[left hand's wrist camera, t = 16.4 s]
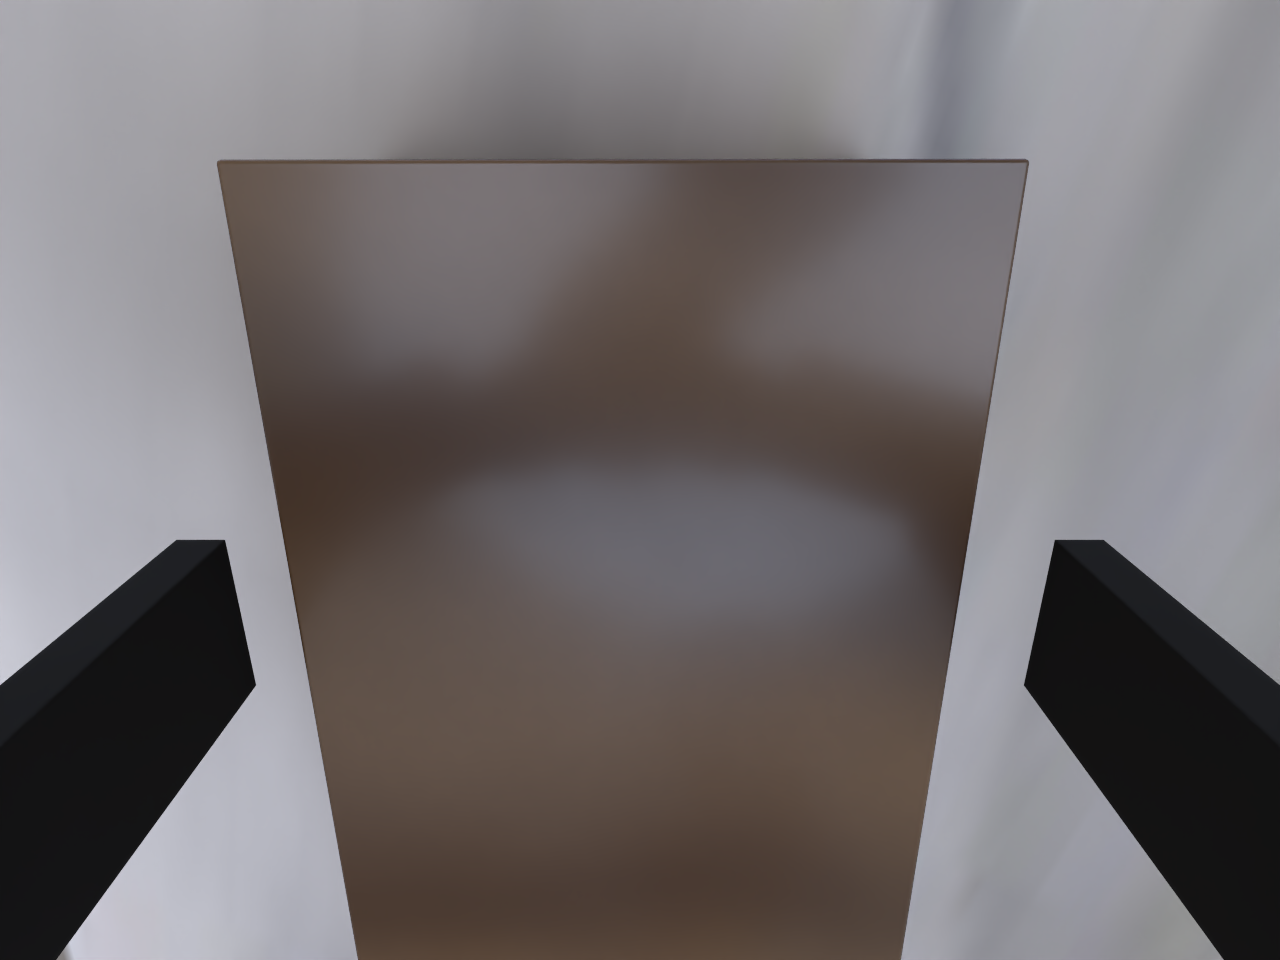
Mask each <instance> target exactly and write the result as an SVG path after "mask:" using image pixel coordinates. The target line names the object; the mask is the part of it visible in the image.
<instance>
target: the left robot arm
mask: <svg viewBox="0 0 1280 960" xmlns="http://www.w3.org/2000/svg"><path fill="white" fill-rule="evenodd" d="M255 686H256V683H255V678H254V674H253V669H252V664H251V660H250V655H249V650H248V645H247V641H246V636H245V631H244V627H243V622H242V617H241V613H240V608H239V603H238V599H237V594H236V589H235V585H234V580H233V575H232V571H231V566H230V561H229V557H228V552H227V547H226V542H225V540H176V541H175V542H173V543H172V544H171V545H170V546H169V547H167V548H166V549H165V550H164V551H163V552H161V553H160V554H159V555H158V556H157V557H155V558H154V559H153V560H152V561H150V562H149V563H148V564H147V565H146V566H144V567H143V568H142V569H141V570H140V571H138V572H137V573H136V574H135V575H133V576H132V577H131V578H130V579H129V580H127V581H126V582H125V583H124V584H123V585H121V586H120V587H119V588H118V589H116V590H115V591H114V592H113V593H112V594H110V595H109V596H108V597H107V598H106V599H104V600H103V601H102V602H101V603H99V604H98V605H97V606H96V607H95V608H93V609H92V610H91V611H90V612H89V613H87V614H86V615H85V616H84V617H82V618H81V619H80V620H79V621H78V622H76V623H75V624H74V625H73V626H72V627H70V628H69V629H68V630H67V631H66V632H64V633H63V634H62V635H61V636H59V637H58V638H57V639H56V640H55V641H53V642H52V643H51V644H50V645H49V646H47V647H46V648H45V649H44V650H42V651H41V652H40V653H39V654H38V655H36V656H35V657H34V658H33V659H32V660H30V661H29V662H28V663H27V664H25V665H24V666H23V667H22V668H21V669H19V670H18V671H17V672H16V673H15V674H13V675H12V676H11V677H10V678H8V679H7V680H6V681H5V682H4V683H2V684H1V685H0V960H56V959H57V958H58V956H59V955H60V954H61V952H62V951H63V950H64V948H65V947H66V945H67V944H68V943H69V941H70V940H71V939H72V937H73V936H74V934H75V933H76V932H77V930H78V929H79V928H80V926H81V925H82V923H83V922H84V921H85V919H86V918H87V917H88V915H89V914H90V913H91V911H92V910H93V908H94V907H95V906H96V904H97V903H98V902H99V900H100V899H101V897H102V896H103V895H104V893H105V892H106V891H107V889H108V888H109V886H110V885H111V884H112V882H113V881H114V880H115V878H116V877H117V875H118V874H119V873H120V871H121V870H122V869H123V867H124V866H125V864H126V863H127V862H128V860H129V859H130V858H131V856H132V855H133V853H134V852H135V851H136V849H137V848H138V847H139V845H140V844H141V842H142V841H143V840H144V838H145V837H146V836H147V834H148V833H149V831H150V830H151V829H152V827H153V826H154V825H155V823H156V822H157V821H158V819H159V818H160V816H161V815H162V814H163V812H164V811H165V810H166V808H167V807H168V805H169V804H170V803H171V801H172V800H173V799H174V797H175V796H176V794H177V793H178V792H179V790H180V789H181V788H182V786H183V785H184V783H185V782H186V781H187V779H188V778H189V777H190V775H191V774H192V772H193V771H194V770H195V768H196V767H197V766H198V764H199V763H200V761H201V760H202V759H203V757H204V756H205V755H206V753H207V752H208V750H209V749H210V748H211V746H212V745H213V744H214V742H215V741H216V739H217V738H218V737H219V735H220V734H221V733H222V731H223V730H224V729H225V727H226V726H227V724H228V723H229V722H230V720H231V719H232V718H233V716H234V715H235V713H236V712H237V711H238V709H239V708H240V707H241V705H242V704H243V702H244V701H245V700H246V698H247V697H248V696H249V694H250V693H251V691H252V690H253V689H254V687H255ZM1024 686H1025V687H1026V689H1027V690H1028V691H1029V693H1030V694H1031V696H1032V697H1033V698H1034V700H1035V701H1036V702H1037V704H1038V705H1039V707H1040V708H1041V709H1042V711H1043V712H1044V713H1045V715H1046V716H1047V718H1048V719H1049V720H1050V722H1051V723H1052V724H1053V726H1054V727H1055V729H1056V730H1057V731H1058V733H1059V734H1060V735H1061V737H1062V738H1063V739H1064V741H1065V742H1066V744H1067V745H1068V746H1069V748H1070V749H1071V750H1072V752H1073V753H1074V755H1075V756H1076V757H1077V759H1078V760H1079V761H1080V763H1081V764H1082V766H1083V767H1084V768H1085V770H1086V771H1087V772H1088V774H1089V775H1090V777H1091V778H1092V779H1093V781H1094V782H1095V783H1096V785H1097V786H1098V788H1099V789H1100V790H1101V792H1102V793H1103V794H1104V796H1105V797H1106V799H1107V800H1108V801H1109V803H1110V804H1111V805H1112V807H1113V808H1114V810H1115V811H1116V812H1117V814H1118V815H1119V816H1120V818H1121V819H1122V821H1123V822H1124V823H1125V825H1126V826H1127V827H1128V829H1129V830H1130V831H1131V833H1132V834H1133V836H1134V837H1135V838H1136V840H1137V841H1138V842H1139V844H1140V845H1141V847H1142V848H1143V849H1144V851H1145V852H1146V853H1147V855H1148V856H1149V858H1150V859H1151V860H1152V862H1153V863H1154V864H1155V866H1156V867H1157V869H1158V870H1159V871H1160V873H1161V874H1162V875H1163V877H1164V878H1165V880H1166V881H1167V882H1168V884H1169V885H1170V886H1171V888H1172V889H1173V891H1174V892H1175V893H1176V895H1177V896H1178V897H1179V899H1180V900H1181V902H1182V903H1183V904H1184V906H1185V907H1186V908H1187V910H1188V911H1189V913H1190V914H1191V915H1192V917H1193V918H1194V919H1195V921H1196V922H1197V923H1198V925H1199V926H1200V928H1201V929H1202V930H1203V932H1204V933H1205V934H1206V936H1207V937H1208V939H1209V940H1210V941H1211V943H1212V944H1213V945H1214V947H1215V948H1216V950H1217V951H1218V952H1219V954H1220V955H1221V956H1222V958H1223V959H1224V960H1280V685H1279V684H1278V683H1276V682H1275V681H1274V680H1273V679H1272V678H1270V677H1269V676H1268V675H1267V674H1265V673H1264V672H1263V671H1262V670H1261V669H1259V668H1258V667H1257V666H1256V665H1255V664H1253V663H1252V662H1251V661H1250V660H1248V659H1247V658H1246V657H1245V656H1244V655H1242V654H1241V653H1240V652H1239V651H1238V650H1236V649H1235V648H1234V647H1233V646H1231V645H1230V644H1229V643H1228V642H1227V641H1225V640H1224V639H1223V638H1222V637H1221V636H1219V635H1218V634H1217V633H1216V632H1214V631H1213V630H1212V629H1211V628H1210V627H1208V626H1207V625H1206V624H1205V623H1204V622H1202V621H1201V620H1200V619H1199V618H1198V617H1196V616H1195V615H1194V614H1193V613H1191V612H1190V611H1189V610H1188V609H1187V608H1185V607H1184V606H1183V605H1182V604H1181V603H1179V602H1178V601H1177V600H1176V599H1174V598H1173V597H1172V596H1171V595H1170V594H1168V593H1167V592H1166V591H1165V590H1164V589H1162V588H1161V587H1160V586H1159V585H1157V584H1156V583H1155V582H1154V581H1153V580H1151V579H1150V578H1149V577H1148V576H1147V575H1145V574H1144V573H1143V572H1142V571H1140V570H1139V569H1138V568H1137V567H1136V566H1134V565H1133V564H1132V563H1131V562H1130V561H1128V560H1127V559H1126V558H1125V557H1123V556H1122V555H1121V554H1120V553H1119V552H1117V551H1116V550H1115V549H1114V548H1113V547H1111V546H1110V545H1109V544H1108V543H1107V542H1105V541H1104V540H1055V542H1054V547H1053V552H1052V557H1051V561H1050V566H1049V571H1048V575H1047V580H1046V585H1045V589H1044V594H1043V599H1042V603H1041V608H1040V613H1039V617H1038V622H1037V627H1036V631H1035V636H1034V641H1033V645H1032V650H1031V655H1030V660H1029V664H1028V669H1027V674H1026V678H1025V683H1024Z"/></svg>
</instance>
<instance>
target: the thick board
mask: <svg viewBox="0 0 1280 960" xmlns="http://www.w3.org/2000/svg"><path fill="white" fill-rule="evenodd" d="M1028 166H1029V161H1028V160H1026V159H498V160H219V161H218V162H217V167H218V172H219V178H220V184H221V189H222V195H223V201H224V206H225V212H226V217H227V223H228V229H229V234H230V240H231V246H232V251H233V257H234V263H235V268H236V274H237V279H238V285H239V291H240V296H241V302H242V308H243V313H244V319H245V325H246V330H247V336H248V342H249V347H250V353H251V358H252V364H253V370H254V375H255V381H256V387H257V392H258V398H259V404H260V409H261V415H262V420H263V426H264V432H265V437H266V443H267V449H268V454H269V460H270V466H271V471H272V477H273V482H274V488H275V494H276V499H277V505H278V511H279V516H280V522H281V528H282V533H283V539H284V545H285V550H286V556H287V561H288V567H289V573H290V578H291V584H292V590H293V595H294V601H295V607H296V612H297V618H298V623H299V629H300V635H301V640H302V646H303V652H304V657H305V663H306V669H307V674H308V680H309V685H310V691H311V697H312V702H313V708H314V714H315V719H316V725H317V731H318V736H319V742H320V748H321V753H322V759H323V764H324V770H325V776H326V781H327V787H328V793H329V798H330V804H331V810H332V815H333V821H334V826H335V832H336V838H337V843H338V849H339V855H340V860H341V866H342V872H343V877H344V883H345V888H346V894H347V900H348V905H349V911H350V917H351V922H352V928H353V934H354V939H355V945H356V951H357V956H358V960H901V955H902V949H903V943H904V936H905V930H906V924H907V918H908V911H909V905H910V899H911V893H912V887H913V880H914V874H915V868H916V862H917V856H918V849H919V843H920V837H921V831H922V825H923V818H924V812H925V806H926V800H927V793H928V787H929V781H930V775H931V769H932V762H933V756H934V750H935V744H936V738H937V731H938V725H939V719H940V713H941V707H942V700H943V694H944V688H945V682H946V675H947V669H948V663H949V657H950V651H951V644H952V638H953V632H954V626H955V620H956V613H957V607H958V601H959V595H960V589H961V582H962V576H963V570H964V564H965V557H966V551H967V545H968V539H969V533H970V526H971V520H972V514H973V508H974V502H975V495H976V489H977V483H978V477H979V471H980V464H981V458H982V452H983V446H984V439H985V433H986V427H987V421H988V415H989V408H990V402H991V396H992V390H993V384H994V377H995V371H996V365H997V359H998V353H999V346H1000V340H1001V334H1002V328H1003V321H1004V315H1005V309H1006V303H1007V297H1008V290H1009V284H1010V278H1011V272H1012V266H1013V259H1014V253H1015V247H1016V241H1017V234H1018V228H1019V222H1020V216H1021V210H1022V203H1023V197H1024V191H1025V185H1026V179H1027V172H1028Z"/></svg>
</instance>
